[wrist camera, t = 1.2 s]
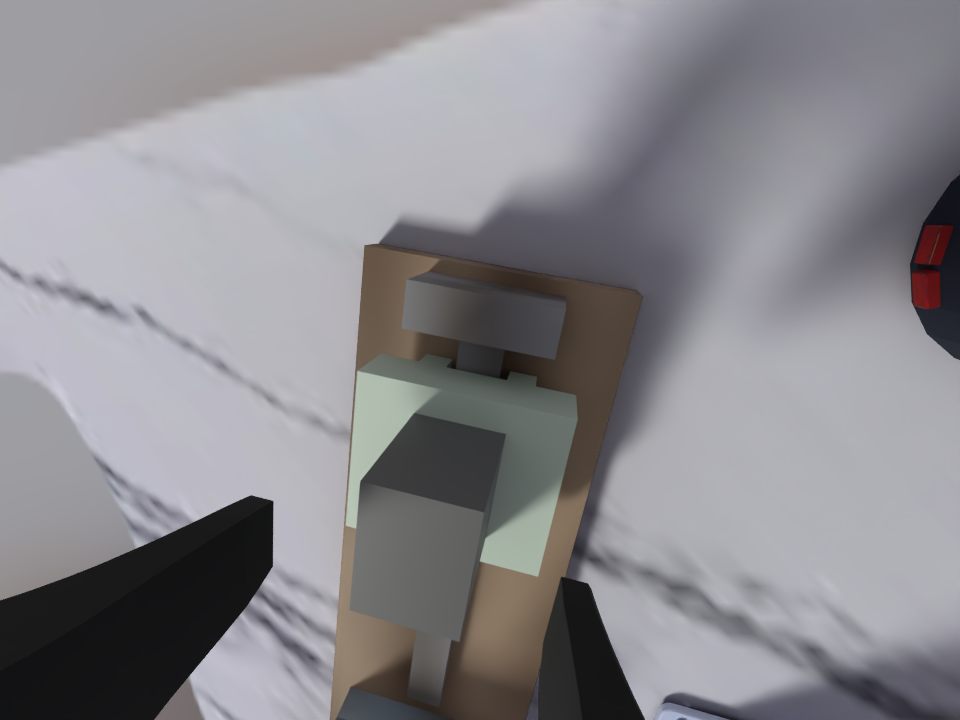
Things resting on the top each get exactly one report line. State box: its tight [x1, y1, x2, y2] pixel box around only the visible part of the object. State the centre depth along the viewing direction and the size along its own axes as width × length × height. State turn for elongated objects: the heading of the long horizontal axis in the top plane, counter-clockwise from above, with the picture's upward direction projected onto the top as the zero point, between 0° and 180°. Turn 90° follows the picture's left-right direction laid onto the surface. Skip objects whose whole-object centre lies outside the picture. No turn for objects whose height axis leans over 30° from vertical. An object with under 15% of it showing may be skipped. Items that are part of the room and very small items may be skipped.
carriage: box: [346, 354, 578, 642], centre depth 14 cm, size 7×6×7 cm
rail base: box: [330, 244, 643, 720], centre depth 19 cm, size 10×29×6 cm, turn 171°
